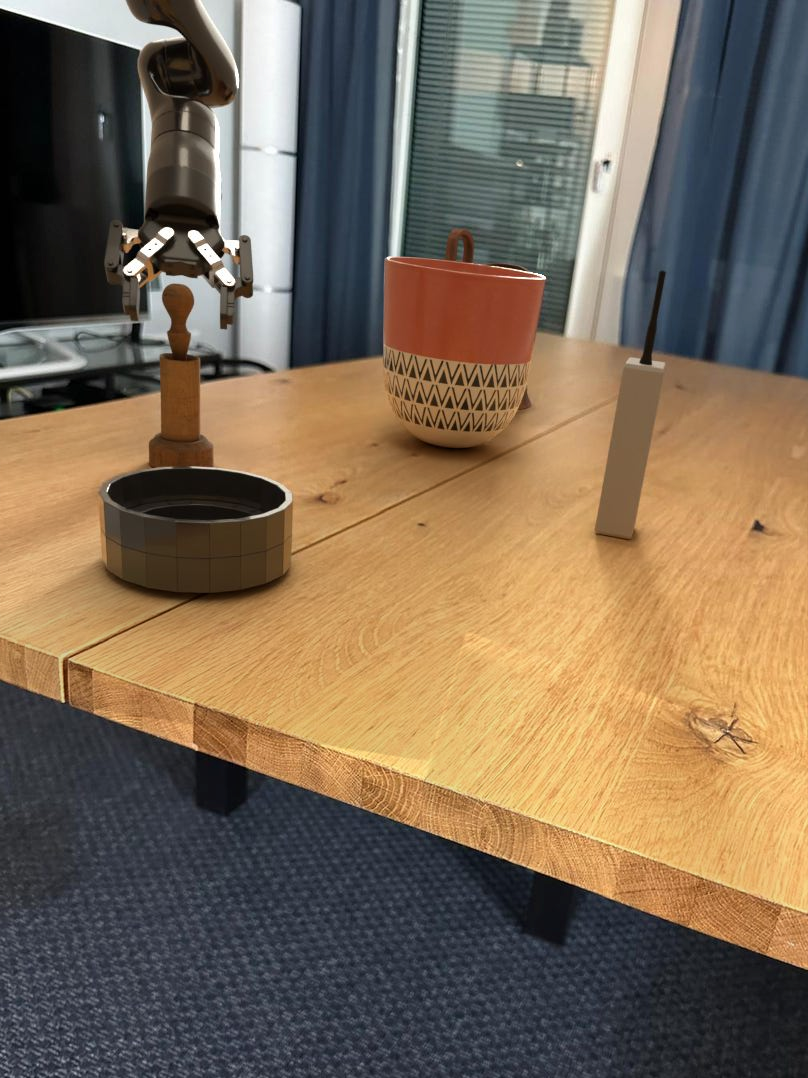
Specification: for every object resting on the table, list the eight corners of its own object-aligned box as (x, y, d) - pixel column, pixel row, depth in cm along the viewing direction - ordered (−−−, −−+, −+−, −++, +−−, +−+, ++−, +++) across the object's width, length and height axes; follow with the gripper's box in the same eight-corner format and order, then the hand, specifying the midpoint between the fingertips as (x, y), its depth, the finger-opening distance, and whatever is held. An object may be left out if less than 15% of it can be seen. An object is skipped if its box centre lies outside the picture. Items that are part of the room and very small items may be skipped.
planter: (475, 473, 108) (497, 278, 99) (342, 438, 116) (351, 255, 107) (547, 448, 124) (572, 278, 115) (426, 419, 132) (440, 258, 123)
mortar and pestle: (207, 475, 95) (205, 291, 88) (142, 470, 95) (134, 283, 87) (218, 459, 101) (217, 285, 94) (157, 453, 100) (151, 277, 93)
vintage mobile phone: (634, 526, 97) (684, 271, 86) (630, 540, 92) (683, 273, 82) (599, 520, 97) (644, 266, 87) (593, 533, 93) (641, 267, 82)
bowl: (68, 583, 68) (62, 504, 65) (151, 525, 80) (148, 457, 78) (258, 612, 67) (259, 533, 64) (310, 548, 80) (313, 481, 77)
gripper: (107, 153, 92) (97, 287, 87) (254, 172, 96) (253, 302, 90) (116, 209, 99) (107, 337, 94) (253, 226, 102) (252, 349, 97)
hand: (179, 320), depth 92 cm, fingers open, 8 cm apart
